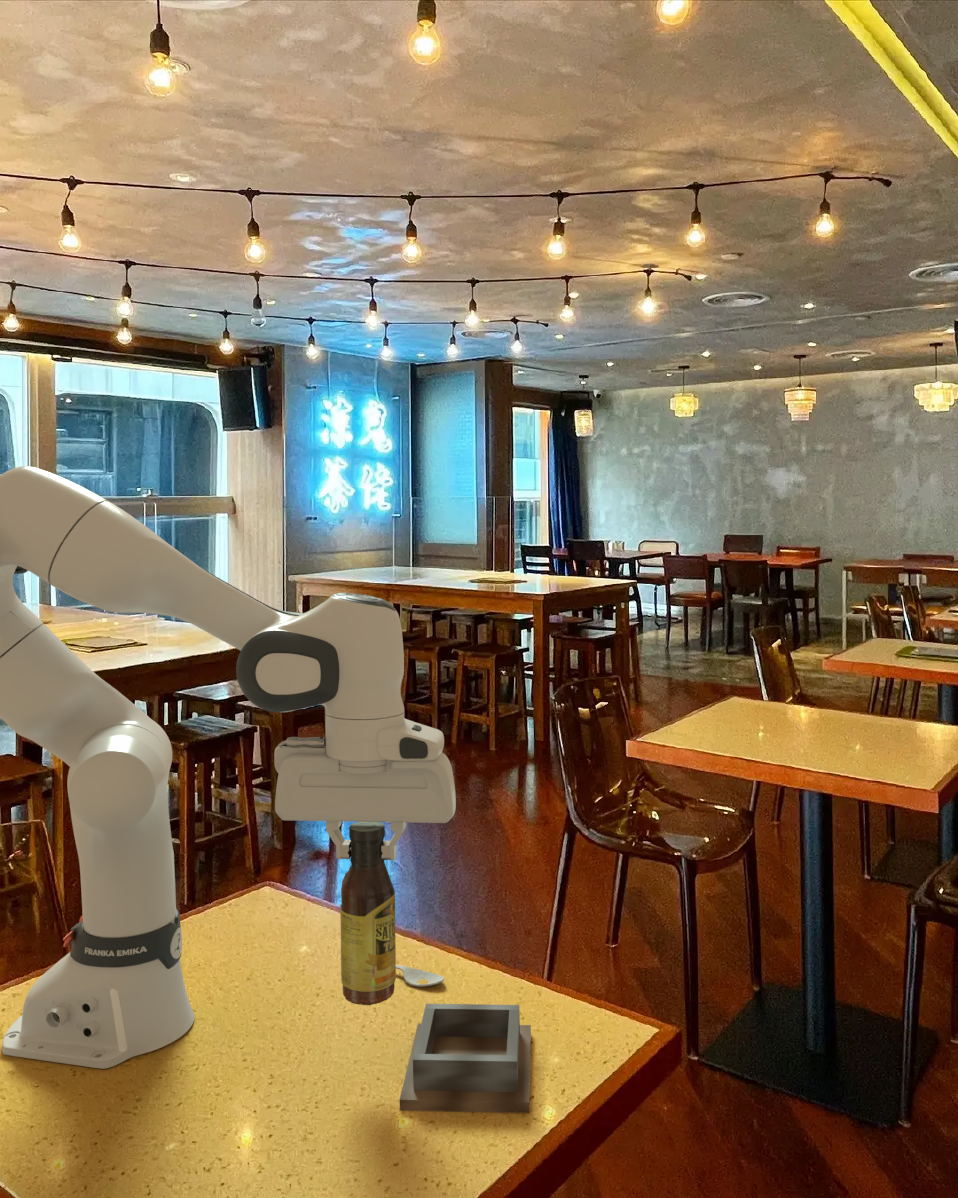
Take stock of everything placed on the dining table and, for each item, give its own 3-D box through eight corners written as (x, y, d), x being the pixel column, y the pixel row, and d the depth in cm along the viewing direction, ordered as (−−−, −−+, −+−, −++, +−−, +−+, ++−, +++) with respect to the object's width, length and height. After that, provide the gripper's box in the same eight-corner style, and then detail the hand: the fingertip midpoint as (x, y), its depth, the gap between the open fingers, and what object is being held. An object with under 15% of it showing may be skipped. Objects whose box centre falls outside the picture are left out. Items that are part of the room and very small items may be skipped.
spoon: (434, 997, 131) (434, 985, 131) (320, 961, 143) (320, 950, 142) (452, 985, 134) (452, 973, 134) (340, 950, 146) (339, 939, 146)
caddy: (399, 1110, 105) (398, 1068, 105) (418, 1032, 121) (417, 996, 121) (529, 1113, 104) (528, 1071, 104) (530, 1034, 120) (530, 998, 120)
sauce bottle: (386, 1011, 108) (384, 838, 106) (333, 1005, 110) (329, 834, 107) (403, 982, 115) (401, 818, 113) (352, 977, 116) (349, 815, 114)
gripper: (266, 743, 107) (268, 866, 108) (452, 745, 106) (452, 869, 107) (281, 730, 113) (283, 847, 114) (457, 732, 112) (457, 850, 113)
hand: (366, 858), depth 110 cm, fingers closed on sauce bottle, 4 cm apart
